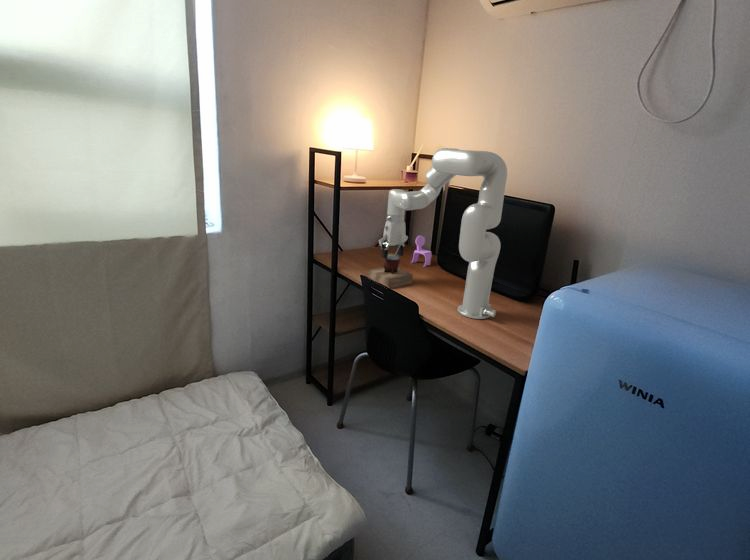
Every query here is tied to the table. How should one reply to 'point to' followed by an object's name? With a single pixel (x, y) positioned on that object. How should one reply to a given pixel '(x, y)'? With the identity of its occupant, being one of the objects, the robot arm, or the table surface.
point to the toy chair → (421, 251)
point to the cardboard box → (391, 277)
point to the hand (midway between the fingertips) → (392, 256)
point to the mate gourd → (392, 262)
